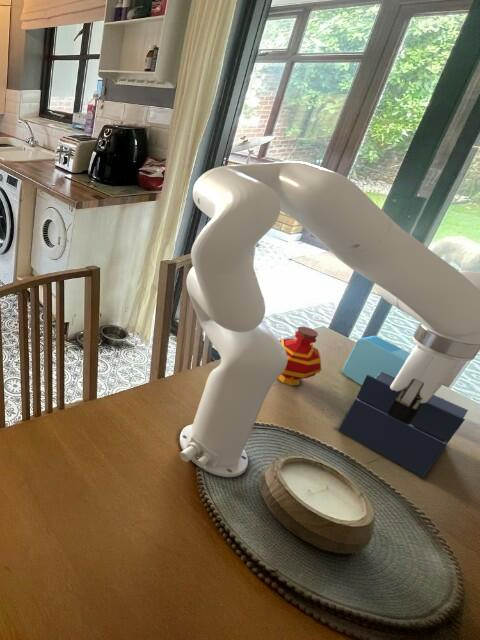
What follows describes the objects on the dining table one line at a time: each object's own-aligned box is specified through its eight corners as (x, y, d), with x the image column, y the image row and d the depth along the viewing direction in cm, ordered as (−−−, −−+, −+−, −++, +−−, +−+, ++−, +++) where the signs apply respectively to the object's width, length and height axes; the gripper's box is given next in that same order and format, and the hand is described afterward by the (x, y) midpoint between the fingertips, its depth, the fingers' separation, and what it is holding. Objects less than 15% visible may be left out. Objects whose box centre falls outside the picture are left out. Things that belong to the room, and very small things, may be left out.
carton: (422, 478, 81) (448, 441, 77) (338, 430, 92) (356, 396, 88) (443, 444, 89) (468, 410, 84) (362, 404, 99) (381, 371, 95)
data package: (405, 401, 100) (429, 362, 95) (393, 405, 99) (416, 366, 94) (352, 369, 110) (371, 333, 105) (340, 372, 109) (358, 335, 104)
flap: (448, 441, 77) (447, 442, 77) (357, 396, 88) (356, 397, 87) (465, 419, 73) (464, 420, 73) (367, 374, 84) (366, 375, 84)
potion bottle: (320, 395, 102) (344, 346, 95) (274, 389, 104) (294, 341, 97) (298, 367, 111) (319, 321, 105) (256, 362, 113) (274, 316, 106)
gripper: (429, 316, 77) (386, 391, 85) (402, 343, 70) (358, 421, 78) (489, 337, 71) (437, 414, 79) (466, 368, 64) (412, 449, 72)
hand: (398, 417), depth 78 cm, fingers closed
